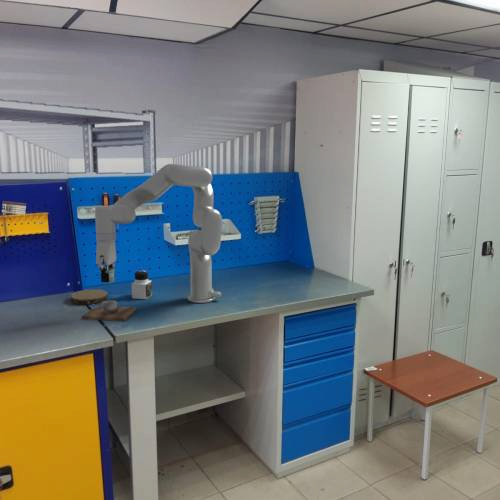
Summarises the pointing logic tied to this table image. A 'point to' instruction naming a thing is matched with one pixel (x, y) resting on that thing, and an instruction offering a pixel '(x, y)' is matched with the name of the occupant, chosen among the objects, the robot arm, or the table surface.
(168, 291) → the table surface
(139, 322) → the table surface
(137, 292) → the medicine bottle
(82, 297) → the wood slice
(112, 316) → the stud board
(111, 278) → the cap
